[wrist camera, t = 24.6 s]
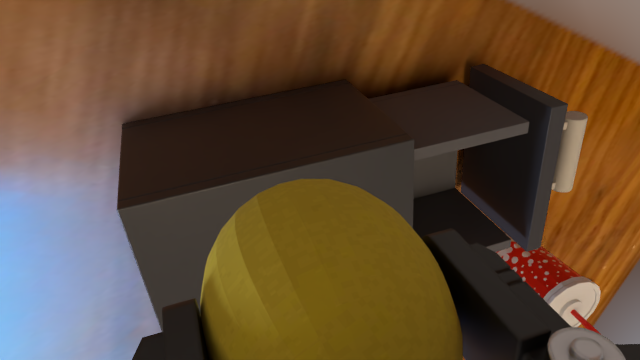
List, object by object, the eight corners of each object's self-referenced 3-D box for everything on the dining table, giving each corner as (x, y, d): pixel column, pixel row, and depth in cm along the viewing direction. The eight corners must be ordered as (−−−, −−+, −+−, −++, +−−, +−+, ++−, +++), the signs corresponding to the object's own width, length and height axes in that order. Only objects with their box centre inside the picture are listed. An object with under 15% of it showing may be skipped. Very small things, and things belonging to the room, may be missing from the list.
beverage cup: (474, 244, 48) (581, 353, 37) (527, 213, 48) (650, 312, 37) (487, 282, 52) (588, 392, 40) (536, 252, 52) (651, 354, 40)
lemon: (336, 288, 17) (464, 538, 10) (171, 284, 15) (201, 602, 8) (391, 144, 15) (598, 345, 8) (207, 113, 12) (288, 358, 6)
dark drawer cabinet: (346, 79, 35) (415, 139, 27) (354, 219, 42) (412, 304, 33) (121, 124, 32) (116, 209, 23) (169, 269, 38) (179, 379, 30)
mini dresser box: (533, 53, 38) (626, 90, 31) (515, 177, 44) (589, 232, 37) (302, 101, 34) (347, 156, 27) (316, 231, 40) (356, 305, 33)
